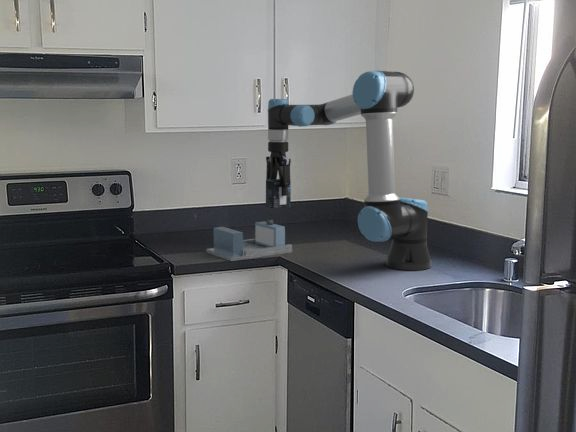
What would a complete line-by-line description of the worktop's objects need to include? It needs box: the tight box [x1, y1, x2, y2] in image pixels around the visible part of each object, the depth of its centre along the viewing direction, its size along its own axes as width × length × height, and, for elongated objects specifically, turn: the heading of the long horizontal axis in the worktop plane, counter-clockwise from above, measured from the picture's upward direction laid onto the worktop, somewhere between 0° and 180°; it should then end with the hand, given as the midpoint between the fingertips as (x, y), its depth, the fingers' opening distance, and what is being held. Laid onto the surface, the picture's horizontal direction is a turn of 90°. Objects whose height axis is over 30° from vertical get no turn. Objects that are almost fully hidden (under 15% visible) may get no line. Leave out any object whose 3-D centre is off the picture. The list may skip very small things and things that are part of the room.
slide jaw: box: [254, 219, 286, 247], centre depth 278 cm, size 14×4×10 cm, turn 35°
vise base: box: [206, 226, 293, 262], centre depth 273 cm, size 18×26×9 cm
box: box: [265, 178, 292, 210], centre depth 278 cm, size 8×6×11 cm
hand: (278, 203), depth 279 cm, fingers closed on box, 6 cm apart
